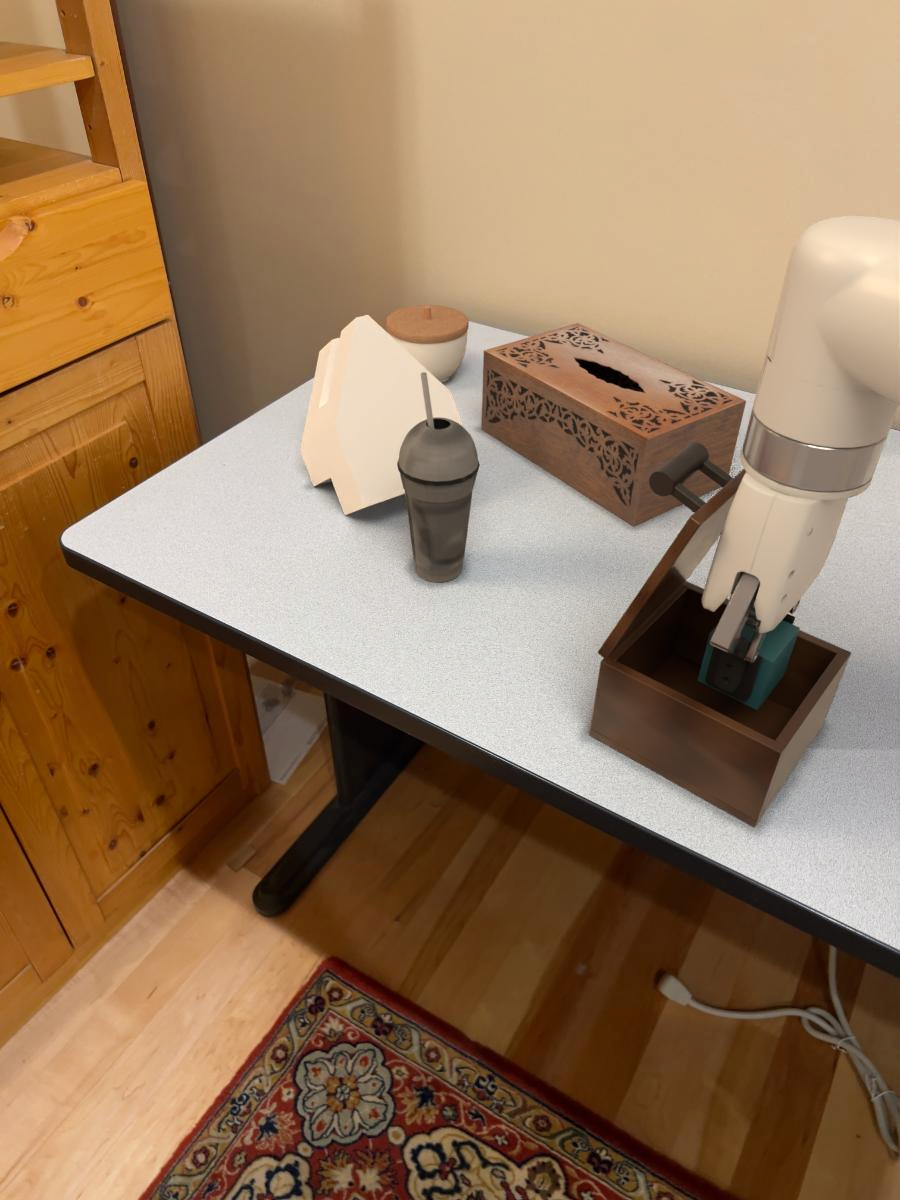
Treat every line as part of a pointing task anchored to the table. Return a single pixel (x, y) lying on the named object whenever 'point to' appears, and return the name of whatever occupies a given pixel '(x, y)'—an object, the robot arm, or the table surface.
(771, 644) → the block
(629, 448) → the tissue box cover
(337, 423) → the slotted wedge
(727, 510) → the lid
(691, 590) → the chest
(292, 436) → the table surface
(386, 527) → the table surface
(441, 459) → the beverage cup
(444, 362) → the trinket box
